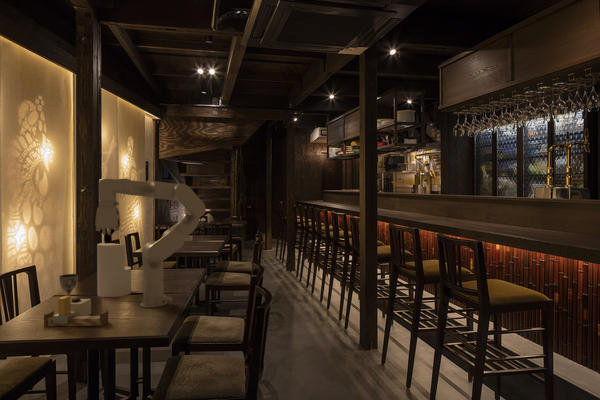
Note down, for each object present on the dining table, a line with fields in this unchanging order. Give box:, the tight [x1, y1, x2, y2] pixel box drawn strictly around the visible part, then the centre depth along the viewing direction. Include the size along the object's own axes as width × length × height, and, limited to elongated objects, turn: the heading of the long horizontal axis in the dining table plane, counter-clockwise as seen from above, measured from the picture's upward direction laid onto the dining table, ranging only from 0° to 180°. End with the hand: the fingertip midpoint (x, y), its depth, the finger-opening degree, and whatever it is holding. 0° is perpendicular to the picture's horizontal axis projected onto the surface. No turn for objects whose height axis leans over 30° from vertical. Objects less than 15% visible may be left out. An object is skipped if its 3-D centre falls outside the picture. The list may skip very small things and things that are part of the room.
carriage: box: [53, 295, 76, 325], centre depth 174 cm, size 6×7×11 cm
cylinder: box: [96, 242, 132, 298], centre depth 230 cm, size 17×17×28 cm
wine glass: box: [58, 273, 79, 296], centre depth 205 cm, size 8×8×15 cm
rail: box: [43, 310, 109, 327], centre depth 174 cm, size 24×5×5 cm, turn 91°
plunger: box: [71, 297, 81, 303], centre depth 185 cm, size 4×4×7 cm
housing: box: [71, 298, 92, 316], centre depth 185 cm, size 9×9×7 cm
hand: (107, 243), depth 195 cm, fingers closed
